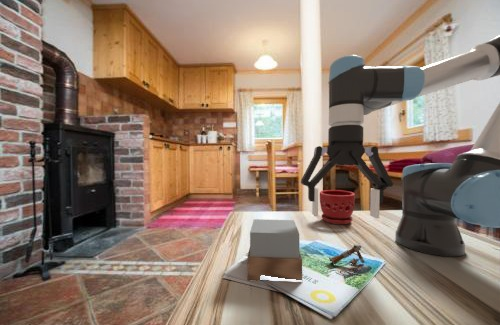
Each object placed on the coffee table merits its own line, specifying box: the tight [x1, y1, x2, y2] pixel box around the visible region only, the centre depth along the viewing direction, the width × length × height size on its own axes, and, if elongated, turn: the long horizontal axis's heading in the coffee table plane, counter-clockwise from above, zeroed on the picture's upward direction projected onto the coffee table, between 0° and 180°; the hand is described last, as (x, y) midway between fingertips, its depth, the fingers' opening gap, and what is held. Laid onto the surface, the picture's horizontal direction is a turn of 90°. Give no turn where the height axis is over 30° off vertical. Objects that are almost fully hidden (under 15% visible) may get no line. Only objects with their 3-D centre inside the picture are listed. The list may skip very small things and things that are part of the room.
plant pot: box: [319, 189, 356, 225], centre depth 85 cm, size 13×13×12 cm
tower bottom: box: [246, 248, 303, 282], centre depth 48 cm, size 11×11×5 cm
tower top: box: [249, 218, 300, 258], centre depth 48 cm, size 10×10×5 cm
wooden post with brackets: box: [328, 244, 365, 266], centre depth 50 cm, size 2×8×4 cm, turn 93°
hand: (344, 216), depth 50 cm, fingers open, 13 cm apart
